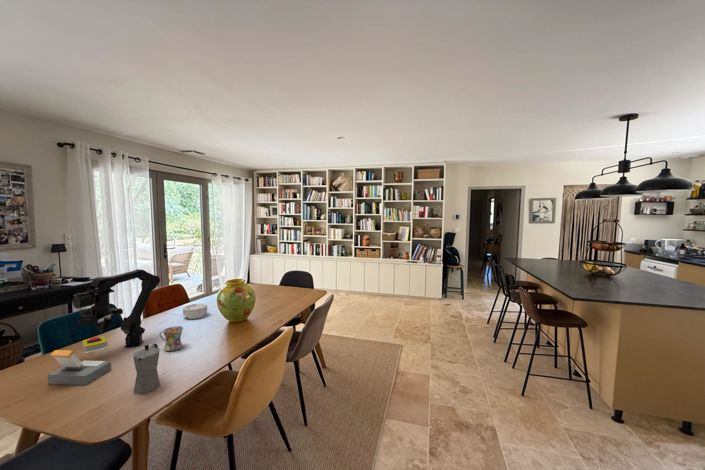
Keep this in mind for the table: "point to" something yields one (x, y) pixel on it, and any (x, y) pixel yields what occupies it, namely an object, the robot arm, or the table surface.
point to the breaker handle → (67, 359)
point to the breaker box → (80, 373)
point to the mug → (172, 338)
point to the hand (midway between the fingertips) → (102, 333)
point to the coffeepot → (146, 369)
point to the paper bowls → (195, 311)
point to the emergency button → (94, 344)
